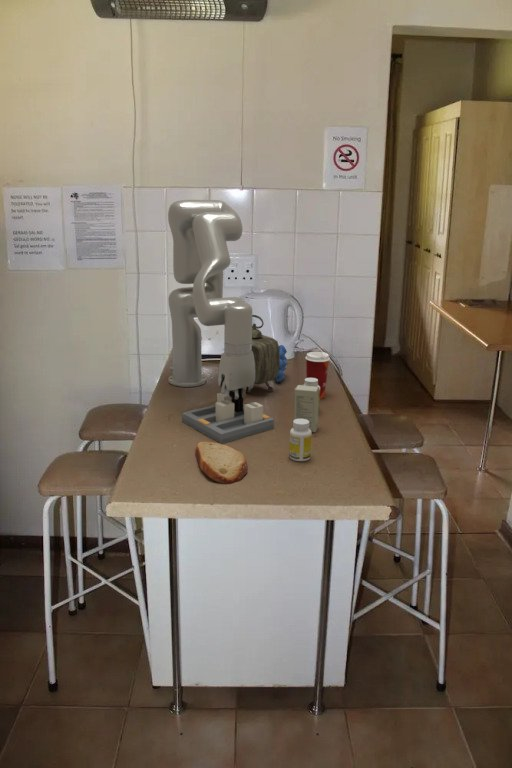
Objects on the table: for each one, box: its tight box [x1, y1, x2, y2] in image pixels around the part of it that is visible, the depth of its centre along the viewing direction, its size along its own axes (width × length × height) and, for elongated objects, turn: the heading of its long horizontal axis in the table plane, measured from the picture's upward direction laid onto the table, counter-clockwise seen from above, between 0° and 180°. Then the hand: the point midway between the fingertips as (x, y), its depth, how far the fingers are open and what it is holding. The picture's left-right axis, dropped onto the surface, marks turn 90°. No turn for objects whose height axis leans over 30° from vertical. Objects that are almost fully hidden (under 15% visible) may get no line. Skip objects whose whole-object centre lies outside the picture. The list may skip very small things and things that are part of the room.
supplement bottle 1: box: [288, 419, 313, 462], centre depth 166 cm, size 5×5×10 cm
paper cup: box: [305, 351, 331, 400], centre depth 209 cm, size 8×8×14 cm
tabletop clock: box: [246, 314, 280, 393], centre depth 211 cm, size 14×9×25 cm, turn 53°
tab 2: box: [243, 401, 264, 425], centre depth 184 cm, size 3×4×6 cm
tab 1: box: [215, 400, 234, 422], centre depth 185 cm, size 3×4×6 cm
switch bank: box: [181, 404, 275, 444], centre depth 186 cm, size 19×18×3 cm
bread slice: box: [195, 441, 249, 485], centre depth 162 cm, size 18×18×4 cm
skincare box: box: [293, 384, 320, 433], centre depth 183 cm, size 6×4×12 cm
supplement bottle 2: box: [303, 377, 321, 413], centre depth 196 cm, size 6×6×10 cm
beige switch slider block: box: [216, 392, 231, 403], centre depth 192 cm, size 3×4×6 cm
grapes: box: [274, 344, 288, 383], centre depth 224 cm, size 12×7×12 cm, turn 171°
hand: (237, 410), depth 188 cm, fingers closed
